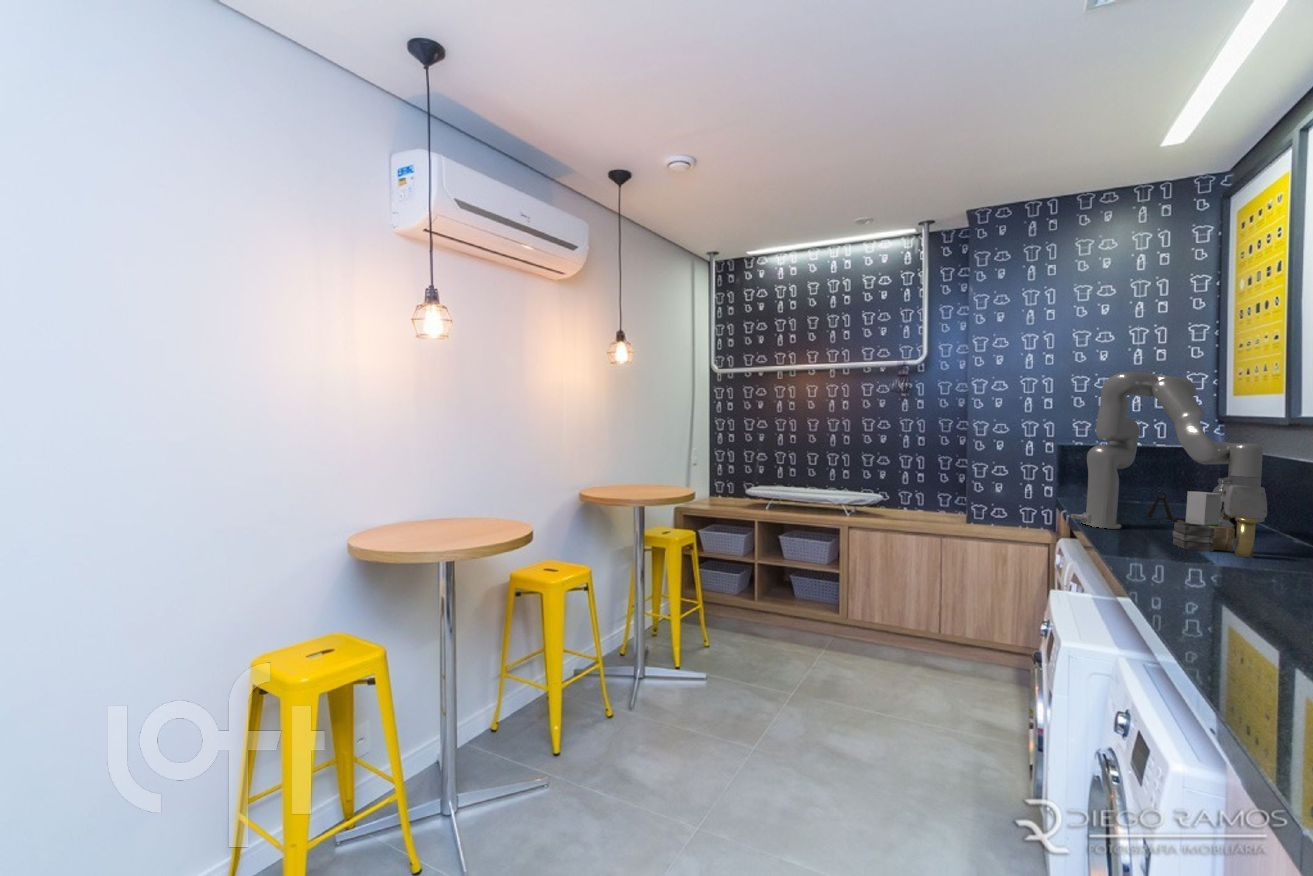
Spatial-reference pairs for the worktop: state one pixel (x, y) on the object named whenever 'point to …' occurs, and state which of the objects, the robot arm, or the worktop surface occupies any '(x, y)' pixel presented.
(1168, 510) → the black a-shaped stand
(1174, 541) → the slatted wooden box
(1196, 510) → the skincare box
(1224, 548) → the wooden crate
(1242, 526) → the brass hinge pin
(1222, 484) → the plastic bottle
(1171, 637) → the worktop surface
